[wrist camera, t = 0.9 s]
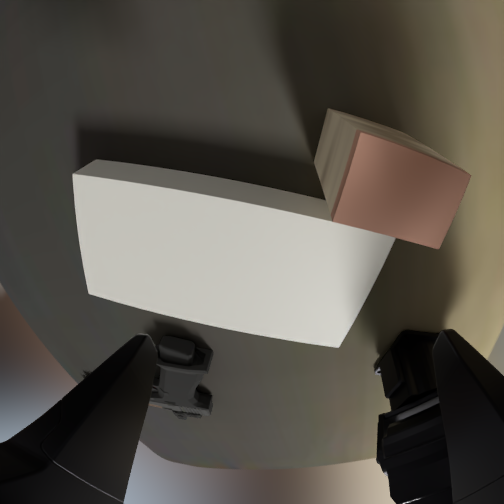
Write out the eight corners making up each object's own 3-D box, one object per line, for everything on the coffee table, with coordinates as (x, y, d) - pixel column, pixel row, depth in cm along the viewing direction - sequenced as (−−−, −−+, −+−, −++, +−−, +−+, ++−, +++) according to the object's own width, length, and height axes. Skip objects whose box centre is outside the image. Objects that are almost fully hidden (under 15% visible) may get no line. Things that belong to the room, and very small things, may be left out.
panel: (382, 215, 19) (395, 237, 17) (334, 320, 24) (338, 347, 22) (96, 159, 19) (72, 173, 16) (104, 271, 24) (88, 293, 22)
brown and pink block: (403, 132, 16) (471, 175, 9) (387, 182, 18) (438, 249, 11) (327, 107, 16) (360, 132, 9) (313, 162, 18) (332, 221, 11)
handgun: (36, 330, 28) (89, 400, 36) (200, 357, 24) (227, 428, 32) (49, 312, 30) (97, 384, 38) (208, 330, 27) (231, 407, 35)
